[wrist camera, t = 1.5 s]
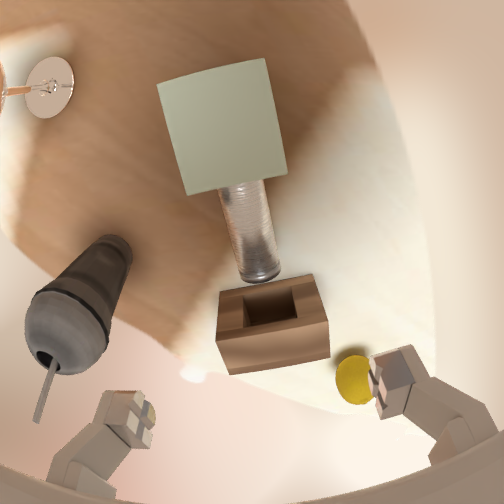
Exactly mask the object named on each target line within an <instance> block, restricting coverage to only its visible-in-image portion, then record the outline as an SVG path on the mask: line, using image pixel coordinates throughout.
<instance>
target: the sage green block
mask: <svg viewBox="0 0 504 504" xmlns="http://www.w3.org/2000/svg"><path fill="white" fill-rule="evenodd" d="M157 88H158V92H159V96H160V100H161V104H162V108H163V112H164V116H165V120H166V123H167V127H168V131H169V134H170V138H171V142H172V145H173V149H174V153H175V156H176V160H177V163H178V167H179V170H180V174H181V177H182V181H183V184H184V187H185V191H186V194H187V196H189V195H193V194H197V193H201V192H206V191H210V190H214V189H219V188H223V187H228V186H232V185H237V184H241V183H246V182H251V181H256V180H261V179H266V178H271V177H276V176H281V175H286V174H288V170H287V165H286V159H285V154H284V149H283V143H282V138H281V133H280V128H279V123H278V118H277V113H276V108H275V104H274V99H273V94H272V89H271V85H270V80H269V76H268V71H267V67H266V62H265V58H260V59H254V60H249V61H244V62H239V63H234V64H229V65H225V66H220V67H216V68H212V69H208V70H204V71H200V72H196V73H193V74H189V75H185V76H182V77H179V78H175V79H172V80H169V81H165V82H162V83H159V84H157Z"/></svg>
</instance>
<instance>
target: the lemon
mask: <svg viewBox="0 0 504 504" xmlns="http://www.w3.org/2000/svg"><path fill="white" fill-rule="evenodd" d="M370 369H371V367H370V364H369V359H368V358H366V357H364V356H361V355H353V356H349V357H347V358H345V359H344V360H343V361H342V362H341V363H340V364H339V366H338V368H337V370H336V378H335V379H336V385H337V388H338V391H339V393H340V394H341V396H342V397H343V398H344V399H345V400H346V401H347V402H349V403H351V404H356V405H360V404H366V403H367V402H368V401H370V400H371V399H372V398H373V397H374V396H372V394H371V391H370V387H369V382H368V371H369V370H370Z"/></svg>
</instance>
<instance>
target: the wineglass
mask: <svg viewBox="0 0 504 504" xmlns="http://www.w3.org/2000/svg"><path fill="white" fill-rule="evenodd" d="M73 89H74V73H73V70H72V68H71V66H70V64H69V63H68V62H67V61H66V60H64V59H63V58H60V57H49V58H46V59H44V60H42V61H40V62H39V63H38V64H37V65H36V66H35V67H34V68H33V70H32V71H31V73H30V75H29V77H28V79H27V82H26V85H25V86H15V87H6V76H5V71H4V67H3V65H2V62H1V60H0V115H1V113H2V110H3V106H4V102H5V97H8V96H14V95H20V94H25V100H26V104H27V106H28V108H29V110H30V111H31V113H32V114H34V115H35V116H37V117H39V118H51V117H53V116H55V115H57V114H59V113H60V112H61V111H62V110H63V109H64V108H65V107H66V105H67V104H68V102H69V100H70V98H71V96H72V93H73Z"/></svg>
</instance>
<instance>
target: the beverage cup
mask: <svg viewBox="0 0 504 504" xmlns="http://www.w3.org/2000/svg"><path fill="white" fill-rule="evenodd" d="M131 263H132V252H131V249H130V247H129V245H128V244H127V243H126V242H125V241H124V240H123V239H122V238H120V237H118V236H115V235H104V236H103V237H101V238H99V240H97V241H96V242H95V243H93V244H92V245H91V246H89V247H88V248H87V249H86V250H85V251H84V252H83V253H82V254H81V255H80V256H79V257H78V258H77V259H76V260H75V261H73V262H72V263H71V264H70V265H69V266H68V267H67V268H66V269H65V270H64V271H63V272H62V273H61V274H60V275H59V276H58V277H57V278H56V279H55V280H53V281H52V282H50V283H49V284H48V285H46V286H45V287H43V288H42V289H41V290H39V291H37V292H36V294H35V295H34V297H33V299H32V301H31V305H30V306H29V308H28V310H27V314H26V317H25V338H26V342H27V344H28V347H29V350H30V352H31V353H32V355H33V356H34V358H35V359H36V360H37V362H38V363H39V364H40V365H42V366H43V367H44V368H46V369H47V370H48V373H47V376H46V379H45V382H44V385H43V388H42V391H41V394H40V397H39V400H38V403H37V406H36V410H35V413H34V416H33V421H34V422H35V423H38V424H39V422H40V418H41V415H42V412H43V408H44V405H45V402H46V398H47V395H48V392H49V389H50V386H51V383H52V380H53V377H54V374H55V373H56V374H60V375H74V374H78V373H81V372H84V371H85V370H87V369H89V368H90V367H91V366H92V365H93V364H94V363H96V362H97V361H98V359H99V358H100V357H101V355H102V353H104V352H105V350H106V349H107V345H108V343H109V334H110V329H111V319H112V316H113V313H114V310H115V307H116V305H117V302H118V299H119V296H120V293H121V291H122V288H123V285H124V283H125V280H126V277H127V275H128V272H129V270H130V265H131Z"/></svg>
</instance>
